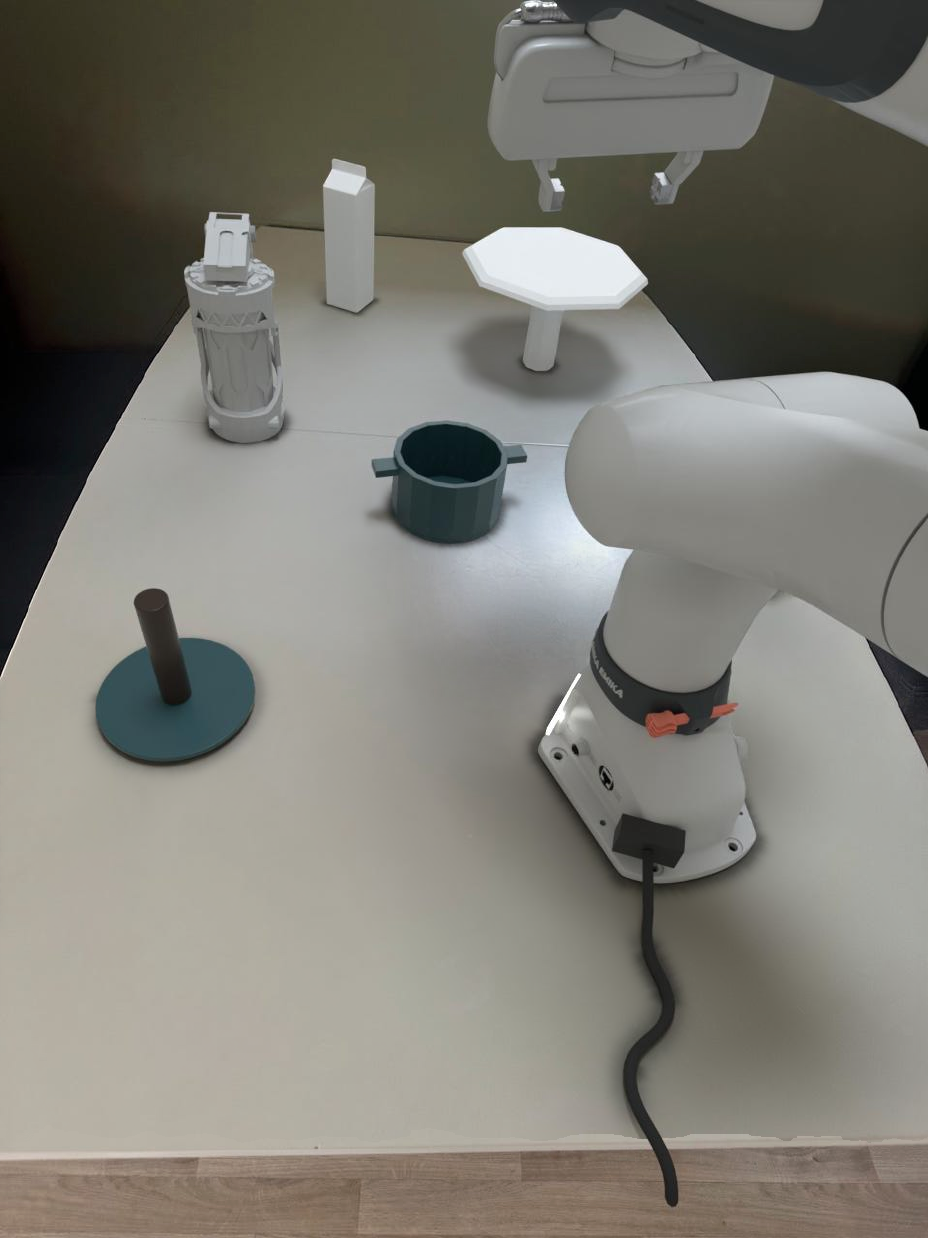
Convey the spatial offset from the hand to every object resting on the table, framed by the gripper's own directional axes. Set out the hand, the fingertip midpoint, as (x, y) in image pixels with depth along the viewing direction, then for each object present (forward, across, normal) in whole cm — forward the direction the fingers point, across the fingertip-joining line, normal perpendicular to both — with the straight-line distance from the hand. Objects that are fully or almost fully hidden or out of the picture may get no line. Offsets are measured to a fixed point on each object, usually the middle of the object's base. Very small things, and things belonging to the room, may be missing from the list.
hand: (605, 203), depth 64 cm
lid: (+36, -42, -19) cm, 58 cm away
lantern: (+46, -33, +28) cm, 64 cm away
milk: (+54, -14, +62) cm, 83 cm away
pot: (+43, -10, +6) cm, 45 cm away
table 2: (+52, +13, +40) cm, 66 cm away
